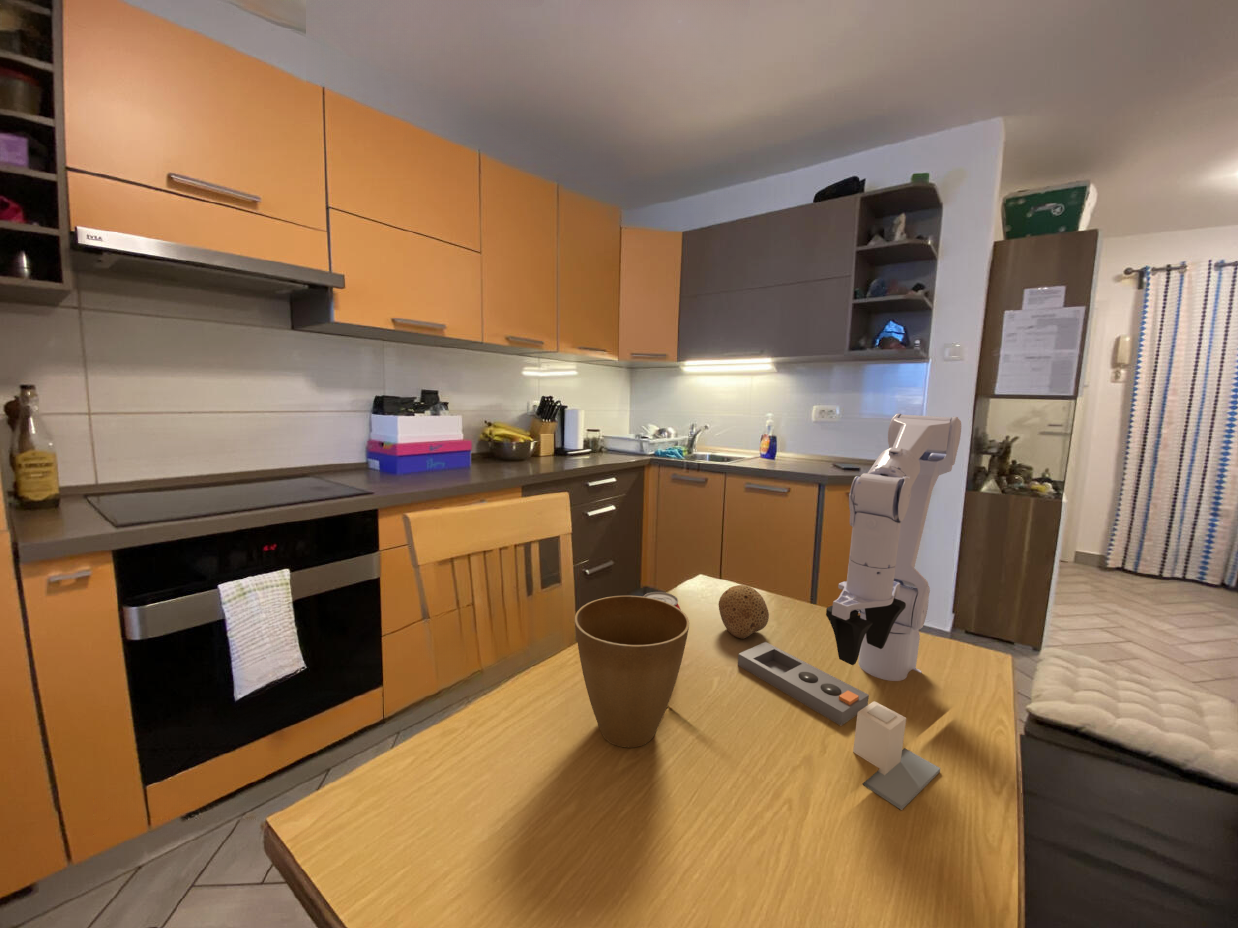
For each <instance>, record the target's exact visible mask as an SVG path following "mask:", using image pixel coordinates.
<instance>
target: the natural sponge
mask: <svg viewBox="0 0 1238 928" xmlns="http://www.w3.org/2000/svg"><path fill="white" fill-rule="evenodd" d="M718 611H719V615H720V618H721V620H722V623H723V625H724V628H725V629H726V630H727V631H728V632H729V634H731V636H733V637H735V638H737V639H746V638H748V637H749V636H751V635H752V634H755V633H756V632H759V631H761V630H763V629H764V628H766V626H767V625H768V622H769V620H770V619H769V617H770V613H769V610H768V606H767V603H766V601H765V600H764V598H763V596H762V594H760V593H759V592H758V590H756V589H754V588H753V587H752V586H748V585H745V584H739V585H733V586H731V587H728V588H727V590H725V591H724V592H723V593H722V594H721V596H720V598H719V599H718Z"/></svg>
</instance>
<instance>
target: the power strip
mask: <svg viewBox="0 0 1238 928" xmlns="http://www.w3.org/2000/svg"><path fill="white" fill-rule="evenodd" d="M737 656H738V657H737V666H739V667H740V668H741V669H742V670H745V671H747V672H748V673H750V674H752V675H754V676H755V677H757V678H759V679H760V680H762V681H763V682H765V683H767V684H769V685H771V686H772V687H774V688H775V689H778V690H779V691H781V692H783V693H785V694H786V695H788V696H789V697H791V698H793V699H795V700H796V701H798V702H799V703H801V704H802V705H804V706H806V707H808V708H810V709H811V710H813V711H815V712H816V713H818V714H820V715H822V716H823V717H824V718H827V719H828V720H829V721H832V722H833V723H835V724H836V725H839V726H840V727H842V726H844V724H846V723H848V722H849V721H850V720H852V719H854V718H855V717H857V714H858V711H860V710H861V709H863V708H864V707H866V706H867V705H869V697H870V694H868V693H867V692H864V691H863V690H860V689H859V688H856V687H854V686H853V685H851V684H850V683H846V682H845V681H843V680H841V679H839V678H837V677H835V676H833V675H831V674H829V673H827V672H825V671H823V670H822V669H819V668H817V667H816V666H813V665H812V664H810V663H807V662H806V661H804V660H802V659H800V658H798V657H796V656H794V655H792V654H791V653H789V652H786V651H784V650H782V649H780V648H778V647H777V646H774V645H773V644H771V643H769V642H767V641H764V642H761V643H760V644H758V645H755V646H753V647H751V648H748V649H745V650H743V651H741V652H739V653H738V655H737Z"/></svg>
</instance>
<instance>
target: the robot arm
mask: <svg viewBox="0 0 1238 928" xmlns="http://www.w3.org/2000/svg"><path fill="white" fill-rule="evenodd" d="M961 433H962V421H961V420H960V418H959V416H952V417H950V416H932V415H914V414H913V415H912V414H902V413H896V414H895V415H894V416H893V417H892V418H891V420H890V422H889V426H888V430H887V444H888V447H889V448H887V449H885V450H883V451H882V452H881V453H880V454H879V455H878V457H877V458H876V460H875V462H874V463H873V464H872V466H871V468H870V469H869V470H868V472H867V473H866V472H865V473H864V472H863V473H862V474H861V475H860V476H859V475H856V476H855V477H854V478H853V480H852V483H851V485H850V486H851V487H850V490H849V496H848V507H849V508H848V509H849V526H851V527H852V528H851V539H850V548H849V557H848V566H847V577H846V581H842V582H839V583H838V587H837V588H838V589H839V590H842V591H841V592H840V594H839V596H838V597H837V599H835V600H833V602H832V605H830V606H827V608H826V610H825V611H826V612H825V616H826V617H827V620H829V621H828V622H829V623H830V625H831V628H832V631H833V635H834V638H835V644H836V647H837V649H836V650H837V655H838V658H839V660H841V661H843V662H845V663H847V664H848V665H850V666H854V665H856V663H857V661H858V666H859V668H860V669H861V670H862V671H864V672H865V673H866V674H869V675H871V676H872V677H875V678H878V679H881V680H885V681H889V682H890V681H891V682H892V681H893V682H900V681H903V680H905V679H906V678H907V677H908V674H909V672H911V671H912V670H913V671H914V672H915V671H916V672H918V673H920V674H922V670H921V669H918V668H917V663H918V662H917V661H918V654H919V647H920V640H921V638H920V637H921V635H920V631H919V630H921V629H922V628H923V627H924V625H925V622H926V618H927V615H928V609H929V599H930V597H929V596H930V591H931V590H930V589H931V588H930V585H929V582H928V580H927V579H926V577H924V576H923V575H922V574H921V573H920V572H919V571H918V570H917V569H916V568H915V567H916V563H917V558H918V554H919V549H920V545H921V541H922V536H923V532H924V528H925V523H926V521H927V520H926V519H927V514H928V511H929V507H930V501H931V497H932V495H933V494H932V493H933V491H934V487H935V485H936V483H937V482H938V478H939V476H941V475H944V474H947V473H950V472H952V470H953V466H954V465H955V464H956V458H957V455H958V454H957V453H958V450H959V445H960V441H961Z"/></svg>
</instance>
